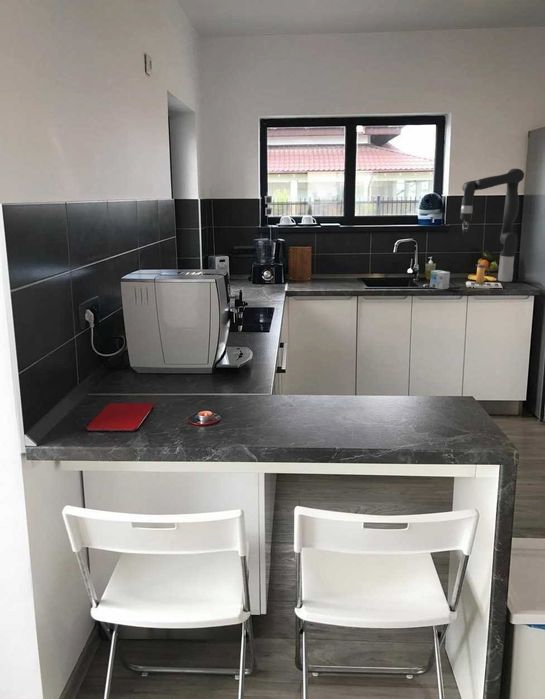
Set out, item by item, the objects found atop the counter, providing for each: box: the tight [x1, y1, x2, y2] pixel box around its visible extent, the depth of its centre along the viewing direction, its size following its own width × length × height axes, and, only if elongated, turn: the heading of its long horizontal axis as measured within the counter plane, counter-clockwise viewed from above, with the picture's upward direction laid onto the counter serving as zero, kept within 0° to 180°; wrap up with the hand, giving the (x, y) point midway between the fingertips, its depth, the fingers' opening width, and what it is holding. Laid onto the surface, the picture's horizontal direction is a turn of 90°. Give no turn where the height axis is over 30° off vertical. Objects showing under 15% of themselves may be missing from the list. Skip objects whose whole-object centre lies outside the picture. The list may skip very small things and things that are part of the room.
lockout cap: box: [475, 263, 486, 283], centre depth 451 cm, size 5×5×12 cm
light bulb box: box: [429, 269, 451, 290], centre depth 443 cm, size 11×7×11 cm, turn 37°
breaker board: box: [465, 281, 503, 289], centre depth 451 cm, size 22×14×3 cm, turn 78°
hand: (464, 236), depth 465 cm, fingers open, 8 cm apart
